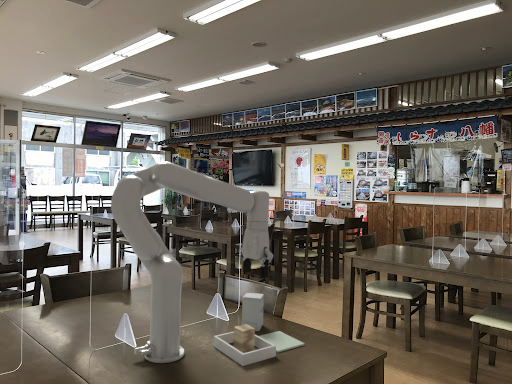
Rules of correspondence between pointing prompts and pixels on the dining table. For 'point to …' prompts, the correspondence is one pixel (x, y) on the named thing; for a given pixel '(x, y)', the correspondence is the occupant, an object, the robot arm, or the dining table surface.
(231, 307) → the dining table surface
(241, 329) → the birch box
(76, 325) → the dining table surface
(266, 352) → the bin
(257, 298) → the supplement box
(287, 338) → the mat
